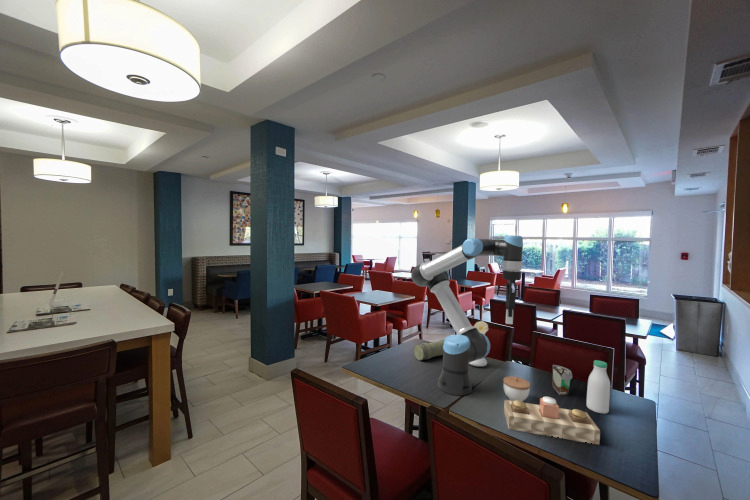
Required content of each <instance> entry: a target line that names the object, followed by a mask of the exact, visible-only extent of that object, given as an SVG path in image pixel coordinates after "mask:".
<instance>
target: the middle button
mask: <svg viewBox="0 0 750 500" xmlns="http://www.w3.org/2000/svg"><path fill="white" fill-rule="evenodd" d="M539 405H540V413H541V415H542V417H546V418H552V419H558V413H559V408H560V406H559V405H558V403H557V400H556V398H553V397H551V396H543V397H540V398H539Z"/></svg>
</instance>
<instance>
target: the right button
mask: <svg viewBox="0 0 750 500" xmlns="http://www.w3.org/2000/svg"><path fill="white" fill-rule="evenodd" d="M568 410H569V417H570V418H571V420H572V421H573V422H577V423H583V424H590V420H589V418H588V417H587V414H588V413H587V414H586V413H585V412H586V411H583V410H581V409H578V408H573V409H568ZM570 410H572V411H570Z"/></svg>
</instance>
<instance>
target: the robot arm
mask: <svg viewBox="0 0 750 500" xmlns="http://www.w3.org/2000/svg"><path fill="white" fill-rule="evenodd" d="M523 239H524V238H523V236H522V235H505V236H504V238H503V239H492V238H477V237H472V238H468V239H466V240H464V241H463V243H462V244H461V245H459V246H458V247H455V248H453V249H451V250H450V251H448V252H446V253H443V254H442V255H440V256H438V257H436V258H434V259H432V260H430V261H428V262H421V263H420V264H418V265H416V266H415V267H414V268H413V269H412V271H411V275H410V276H411V280H412V282H413V283H414V284H415V285H416V286H418V287H421V288H422V287H423V288H424V287H426V288H428V290H429V291H430V293H431V294H434V295H435V297H436V298H437V300H438V303H439V304H440V306H441V308H442V309H443V311H444V313H445V315H446V317H447V318H448V320H449V321H448V322H450V324H451V326H452V328H453V330H454V331H455V333H456V334H451V335H448V336H446V337H445V338H444V339H445V340H444V345H443V355H442V370H441V373H440V374H439V377H438V379H437V380H438V381H437V386H438V389H440V390H441V391H442V392H444V393H447V394H449V395H453V396H465V395H469V394H470V393H472V390H473V389H472V388H473V386H472V382H471V378H470V375H469V374H470V373H469V368H470V367H469V366H470V364H469V363H470V362H472V361H475V360H478V359H482V358H483V357H484V358H485V357H486V356H488V354H489V353H490V350H491V342H490V340H489V338H488V336H486V334H482V333H479V331H478V330H477V328H476V327H474V325H472V324H471V322H470V320H469V319H468V317H467V315H466V313H465V312H464V310H463V308H462V306H461V305H460V303H459V301H458V300H457V297H456V296H455V293H454V292H453V291H452V289H451V287H450V283H451V282H450V273H449V270H451V269H453V268H455V267H457V266H459V265H461V264H463V263H466V262H467V261H470V260H473V259H475V258H477V257H481V256H482V257H484V256H485V257H487V256H492V257H503V261H502V269H503V270H502V276H501V277H502V279H503V280H506V281H507V282H506V283H505V311H506V312H505V324H506V325H513V324H514V323H513V322H514V310H515V306H516V296H517V291H518V290H517V287H518V285H517V283H516V281H521V280H522V272H521V271H522V267H523V266H524V263H523V262H522V261H523V248H524V243H523V242H524V240H523Z"/></svg>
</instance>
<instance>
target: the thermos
mask: <svg viewBox="0 0 750 500" xmlns="http://www.w3.org/2000/svg"><path fill="white" fill-rule="evenodd" d="M444 340H445V338H443V339H439V340H437V341H434V342H422V343H418V344H416V345H414V347H413V354H414V357H415V358H416V360H418V361H425V360H429V359H431V358H434V357H438V356H443V345H444Z"/></svg>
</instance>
